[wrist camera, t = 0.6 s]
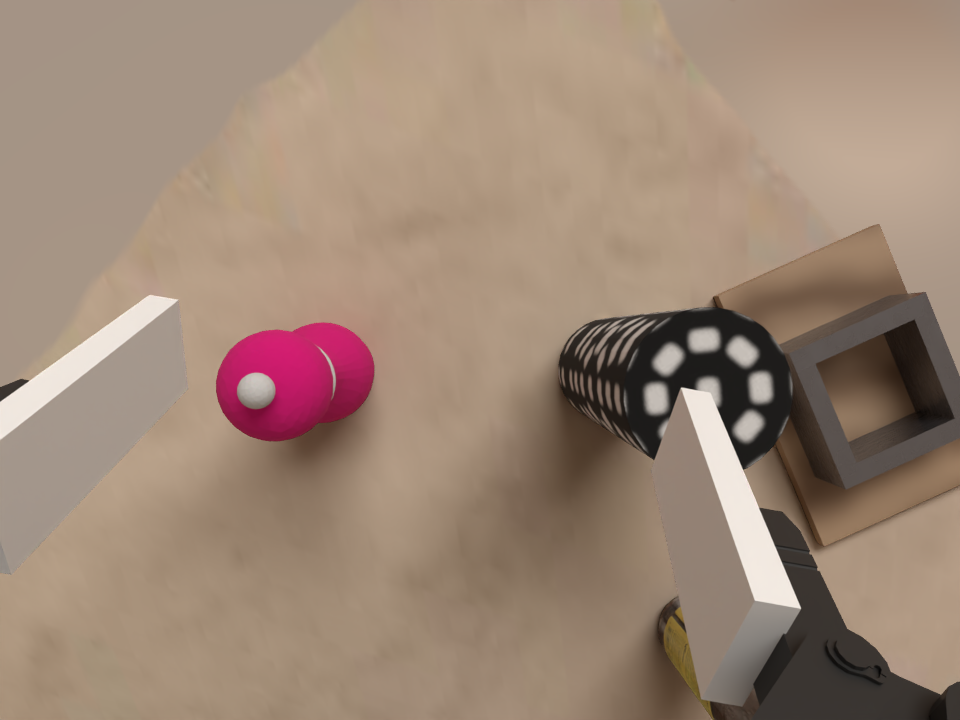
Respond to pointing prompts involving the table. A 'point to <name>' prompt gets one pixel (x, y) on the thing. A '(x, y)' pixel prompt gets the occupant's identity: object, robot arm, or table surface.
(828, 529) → the caddy board
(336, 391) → the pepper mill
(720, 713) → the sauce bottle
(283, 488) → the table surface
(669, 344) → the spotted tube
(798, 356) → the bottle socket
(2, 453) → the robot arm
